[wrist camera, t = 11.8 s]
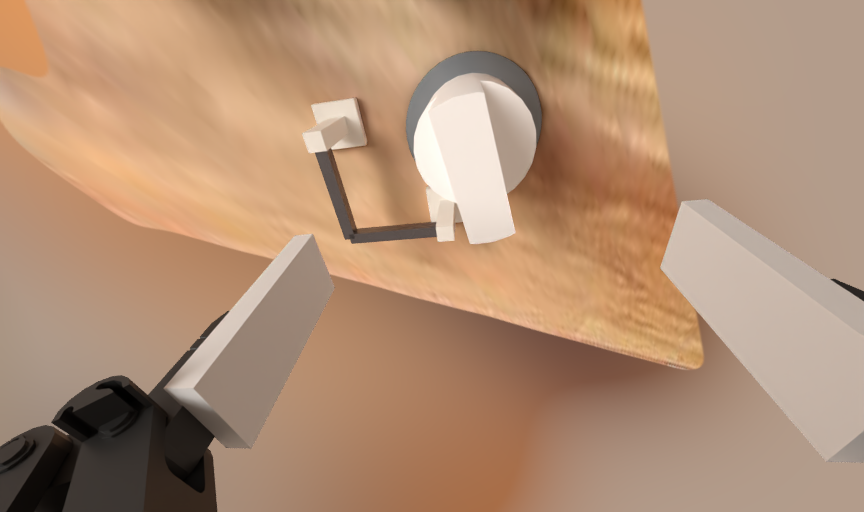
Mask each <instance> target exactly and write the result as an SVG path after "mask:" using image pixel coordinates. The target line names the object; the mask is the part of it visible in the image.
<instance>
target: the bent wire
mask: <svg viewBox="0 0 864 512" xmlns="http://www.w3.org/2000/svg"><path fill="white" fill-rule="evenodd" d="M315 154H316V157H317V160H318V163H319V166H320V169H321V171H322V174H323V177H324V180H325V183H326V186H327V189H328V192H329V194H330V197H331V200H332V203H333V206H334V209H335V212H336V215H337V218H338V220H339V223H340V226H341V229H342V232H343V235H344V238H345V240H346V239H350V240H351V243H352V244H354V243H366V242H378V241H390V240H403V239H415V238H427V237H437V233H436V222H428V223H417V224H405V225H394V226H383V227H371V228H360V229H357V228H356V225H355V222H354V218H353V215H352V212H351V209H350V206H349V203H348V199H347V196H346V193H345V190H344V187H343V184H342V180H341V177H340V174H339V171H338V168H337V165H336V161H335V158H334V155H333V152H332V149H331V148H330V149H329V150H328V151H323V152H315Z"/></svg>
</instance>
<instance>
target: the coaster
mask: <svg viewBox="0 0 864 512" xmlns="http://www.w3.org/2000/svg"><path fill="white" fill-rule="evenodd" d="M469 73H482V74H488V75H491V76H493V77H496V78H498V79H500V80H501V81H503V82H504V83H505V84H506V85H508V86H509V87H510V88H511V89H512V90H513V91H514V92H515V93H516V94H517V95H518V96H519V97H520V98H521V99H522V100H523V102H524V103H525V105H526V106H527V108H528V110H529V111H530V113H531V115H532V118H533V121H534V125H535V128H536V146H537V143H538V140H539V136H540V132H541V123H542V112H541V106H540V101H539V97H538V94H537V92H536V89H535V87H534V85H533V83H532V82H531V80H530V79H529V77H528V76H527V75H526V73H525V72H524V71H523V70H522V69H521V68H520V67H519V66H517V65H516V64H515V63H514V62H512V61H510V60H509V59H507V58H505V57H503V56H500V55H498V54H495V53H490V52H485V51H470V52H464V53H460V54H456V55H454V56H452V57H449V58H447V59H445V60H444V61H442V62H440V63H439V64H438V65H436V66H435V67H434V68H433V69H431V70H430V71H429V72H428V73H427V74H426V76H425V77H424V78H423V79H422V81H421V82H420V83H419V85H418V86H417V88H416V90H415V92H414V94H413V96H412V99H411V101H410V104H409V108H408V112H407V119H406V133H407V140H408V145H409V148H410V151H411V154H412V156H413V158H414V160H415V156H414V135H415V131H416V128H417V124H418V121H419V119H420V117H421V115H422V114H423V112H424V110H425V108H426V107H427V105H428V103H429V102H430V100H431V98H432V97H433V95H434V93H435V92H436V91H437V90H438V89H439V88H441V87H442V86H443V85H444V84H445V83H446V82H448V81H450V80H451V79H453V78H455V77H457V76H460V75H464V74H469ZM415 162H416V160H415Z"/></svg>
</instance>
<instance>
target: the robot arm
mask: <svg viewBox="0 0 864 512" xmlns="http://www.w3.org/2000/svg"><path fill="white" fill-rule="evenodd" d="M660 268H661V270H662V271H663V272H664V273H665V274H666V275H667V277H668V278H669V279H670V280H671V281H672V282H673V284H674V285H675V286H676V287H677V288H678V289H679V291H680V292H681V293H682V294H683V295H684V296H685V298H686V299H687V300H688V301H689V302H690V303H691V305H692V306H693V307H694V308H695V309H696V310H697V312H698V313H699V314H700V315H701V316H702V317H703V319H704V320H705V321H706V322H707V323H708V324H709V326H710V327H711V328H712V329H713V330H714V331H715V333H716V334H717V335H718V336H719V337H720V338H721V340H722V341H723V342H724V343H725V344H726V345H727V347H729V349H730V350H731V351H732V352H733V354H734V355H735V356H736V357H737V358H738V359H739V361H740V362H741V363H742V364H743V365H744V366H745V368H747V370H748V371H749V372H750V373H751V375H752V376H753V377H754V378H755V379H756V380H757V382H758V383H759V384H760V385H761V386H762V387H763V389H764V390H765V391H766V392H767V393H768V394H769V395H770V397H771V398H772V399H773V400H774V401H775V402H776V404H777V405H778V406H779V407H780V408H781V409H782V411H783V412H784V413H785V414H786V415H787V417H788V418H789V419H790V420H791V421H792V422H793V423H794V425H795V426H796V427H797V428H798V429H799V431H800V432H801V433H802V434H803V435H804V436H805V437H806V439H807V440H808V441H809V442H810V443H811V445H812V446H813V447H814V448H815V449H816V450H817V452H818V453H819V454H820V455H821V456H822V457H823V458H824V460H825V461H826V462H862V463H863V462H864V291H862V290H859V289H857V288H854V287H852V286H850V285H847V284H845V283H843V282H840V281H838V280H836V279H829V278H827V277H826V276H824V275H822V274H821V273H820V272H818V271H817V270H815V269H814V268H812V267H810V266H809V265H807V264H806V263H804V262H803V261H801V260H799V259H798V258H797V257H795V256H794V255H792V254H791V253H789V252H788V251H786V250H784V249H783V248H782V247H780V246H778V245H777V244H775V243H774V242H772V241H771V240H769V239H767V238H766V237H765V236H763V235H762V234H760V233H759V232H757V231H756V230H754V229H753V228H751V227H749V226H748V225H746V224H745V223H743V222H742V221H740V220H738V219H737V218H736V217H734V216H732V215H731V214H730V213H728V212H726V211H725V210H723V209H722V208H721V207H719V206H717V205H716V204H714V203H713V202H711V201H710V200H708V199H704V200H694V201H682V203H681V206H680V209H679V212H678V215H677V218H676V221H675V224H674V227H673V230H672V233H671V236H670V239H669V243H668V246H667V249H666V252H665V255H664V258H663V261H662V264H661V267H660ZM334 288H335V287H334V284H333V282H332V279H331V277H330V274H329V272H328V270H327V267H326V265H325V262H324V260H323V258H322V255H321V253H320V250H319V248H318V245H317V243H316V241H315V238H314V236H313V234H307V235H295V236H294V237H293V238H292V239H291V241H290V242H289V243H288V244H287V245H286V246H285V248H284V249H283V250H282V251H281V252H280V253H279V255H278V256H277V257H276V258H275V259H274V260H273V262H272V263H271V264H270V265H269V266H268V267H267V269H266V270H265V271H264V272H263V273H262V274H261V275H260V277H259V278H258V279H257V280H256V281H255V282H254V284H253V285H252V286H251V287H250V288H249V289H248V291H247V292H246V293H245V294H244V295H243V297H242V298H241V299H240V300H239V301H238V302H237V303H236V305H235V306H234V307H233V308H232V309H231V310H230V311H227V312H226V313H225V314H223V315H222V316H221V317H219V318H218V319H217V320H215V321H214V322H213V323H212V324H211V325H210V326H209V327H208V328H207V329H206V330H205V331H204V333H203V334H202V335H201V336H200V339H197V341H196V342H195V343H194V344H193V345H192V346H191V347H190V351H187V352H186V353H185V354H184V355H183V356H182V357H181V359H180V360H179V361H178V362H177V363H176V364H175V365H174V366H173V368H172V369H171V370H170V371H169V372H168V373H167V374H166V375H165V377H164V378H163V379H162V380H161V381H160V382H159V383H158V384H157V386H156V387H155V388H154V389H153V390H152V391H151V392H150V394H149V395H147V394H146V393H145V392H144V391H142V390H141V389H140V388H139V387H138V386H137V385H136V384H134V383H133V382H132V381H131V380H130V379H129V378H127V377H125V376H112V377H109V378H106V379H104V380H101V381H98V382H96V383H95V384H93V385H91V386H89V387H88V388H86V389H84V390H83V391H81V392H80V393H79V394H77V395H76V396H75V397H73V398H72V399H71V400H69V401H68V402H67V404H65V405H64V406H63V407H62V408H61V409H60V411H58V413H57V415H56V416H55V418H54V419H53V421H52V423H53V424H54V425H56V426H57V427H59V428H60V429H62V430H63V431H65V432H67V433H68V434H69V435H65V434H64V433H62V432H60V431H59V430H57V429H56V428H54V427H52V426H47V425H45V426H40V427H36V428H33V429H31V430H29V431H27V432H24V433H22V434H20V435H18V436H16V437H14V438H13V439H11V440H10V441H8V442H6V443H5V444H3V445H2V446H1V447H0V512H217V502H216V490H215V478H214V466H213V456H212V454H211V451H210V450H209V449H208V446H209V445H210V443H211V442H212V440H213V438H214V437H215V438H216V439H217V440H218V441H219V442H220V443H221V444H223V445H224V446H225V447H226V448H252V446H253V444H254V443H255V441H256V439H257V437H258V435H259V433H260V431H261V429H262V427H263V425H264V423H265V421H266V419H267V417H268V416H269V413H270V412H271V410H272V408H273V406H274V403H275V402H276V400H277V398H278V396H279V394H280V392H281V390H282V389H283V387H284V385H285V383H286V381H287V379H288V377H289V375H290V373H291V371H292V369H293V367H294V365H295V363H296V362H297V360H298V358H299V356H300V354H301V352H302V350H303V348H304V346H305V344H306V342H307V340H308V338H309V336H310V335H311V332H312V330H313V329H314V327H315V325H316V323H317V321H318V319H319V317H320V315H321V313H322V311H323V309H324V307H325V306H326V304H327V302H328V300H329V298H330V296H331V294H332V292H333V290H334Z"/></svg>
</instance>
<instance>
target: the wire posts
mask: <svg viewBox="0 0 864 512" xmlns="http://www.w3.org/2000/svg"><path fill="white" fill-rule="evenodd" d="M311 107H312V110H313V113H314V116H315V119H316V122H317V125H316V126H314V127H312V128H310V129H309V130H307V131H305V132H303V133H302V135H303V138H304V141H305V144H306V146H307V149H308V152H309V153H315V152H323V151H328V150H329V149H330V148H331V149H332V150H334V149H341V148H349V147H357V146H364V145H366V144H367V143H368V142H367V138H366V134H365V130H364V126H363V122H362V118H361V114H360V110H359V106H358V102H357V98H356V97H355V98H348V99H342V100H335V101H329V102H322V103H316V104H313V105H311ZM426 193H427V200H428V206H429V212H430V218H431V222H436V233H437V239H438V242H443V241H455V223H457V222H463V220H462V217H461V214H460V211H459V208H458V205H457V203H455V202H452V201H449V200H447V199H445V198H443V197H442V196H440V195H439V194H437V193H436V192H434V191H433V190H432V189H431V188H430V187H427V188H426Z"/></svg>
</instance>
